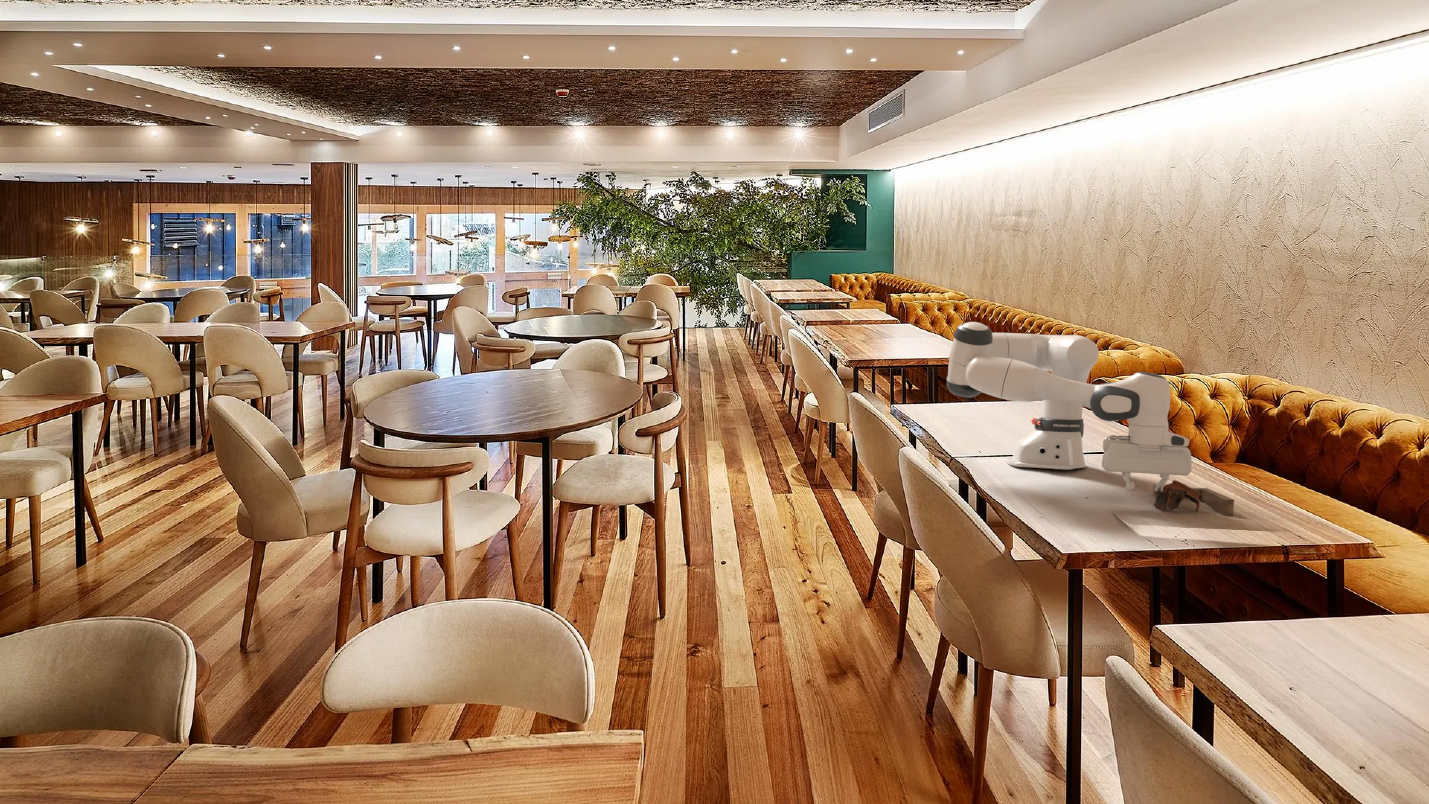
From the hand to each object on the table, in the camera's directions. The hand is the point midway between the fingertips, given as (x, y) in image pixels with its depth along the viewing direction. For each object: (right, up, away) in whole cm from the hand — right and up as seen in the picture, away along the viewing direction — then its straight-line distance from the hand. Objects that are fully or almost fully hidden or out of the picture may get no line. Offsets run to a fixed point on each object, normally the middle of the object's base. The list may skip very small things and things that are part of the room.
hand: (1144, 490), depth 206 cm
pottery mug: (+5, -6, -2) cm, 8 cm away
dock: (+13, -5, +2) cm, 14 cm away
